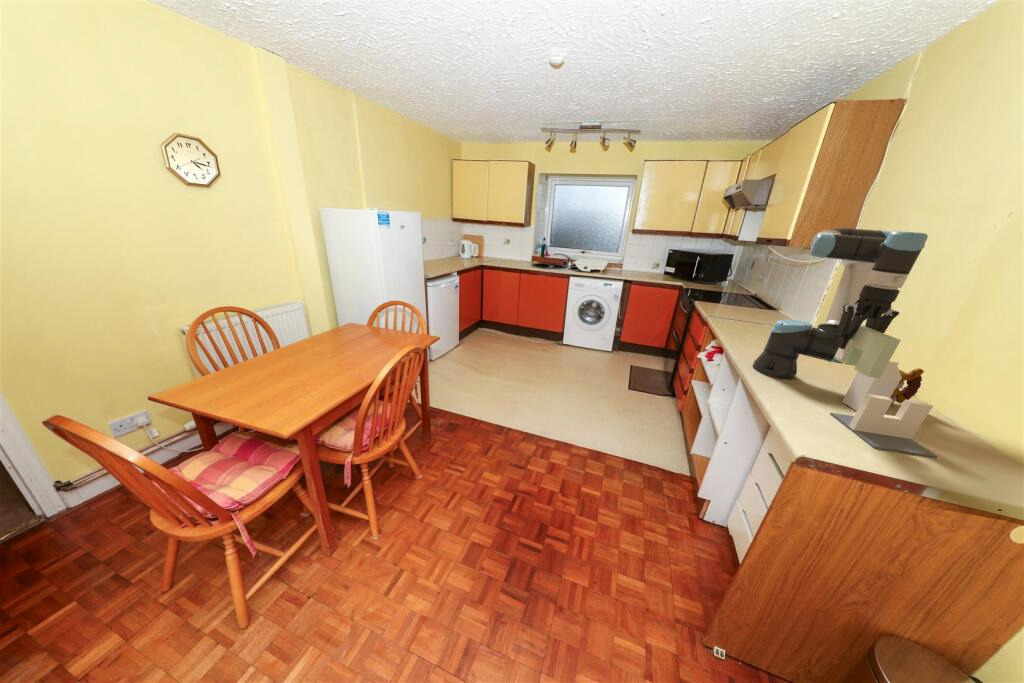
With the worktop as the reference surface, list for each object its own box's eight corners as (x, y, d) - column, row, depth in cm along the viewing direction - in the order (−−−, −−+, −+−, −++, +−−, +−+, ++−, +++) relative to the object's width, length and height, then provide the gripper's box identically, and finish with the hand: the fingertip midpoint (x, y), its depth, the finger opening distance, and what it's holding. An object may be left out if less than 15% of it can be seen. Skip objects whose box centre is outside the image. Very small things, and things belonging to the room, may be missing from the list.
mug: (845, 389, 132) (863, 355, 126) (897, 398, 127) (918, 364, 121) (862, 402, 122) (882, 366, 117) (918, 413, 117) (942, 376, 112)
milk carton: (879, 415, 113) (908, 367, 106) (856, 412, 115) (883, 363, 108) (863, 405, 120) (889, 358, 113) (841, 401, 121) (866, 355, 114)
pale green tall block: (833, 357, 108) (850, 323, 103) (844, 359, 107) (861, 324, 103) (867, 376, 95) (888, 338, 90) (879, 378, 94) (900, 340, 90)
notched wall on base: (873, 448, 95) (895, 412, 91) (829, 414, 112) (846, 381, 107) (937, 458, 93) (962, 421, 89) (882, 421, 110) (901, 389, 105)
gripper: (860, 285, 94) (825, 359, 103) (926, 292, 91) (884, 367, 100) (841, 281, 101) (810, 350, 109) (902, 287, 98) (865, 358, 107)
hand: (846, 358), depth 105 cm, fingers closed on pale green tall block, 3 cm apart
